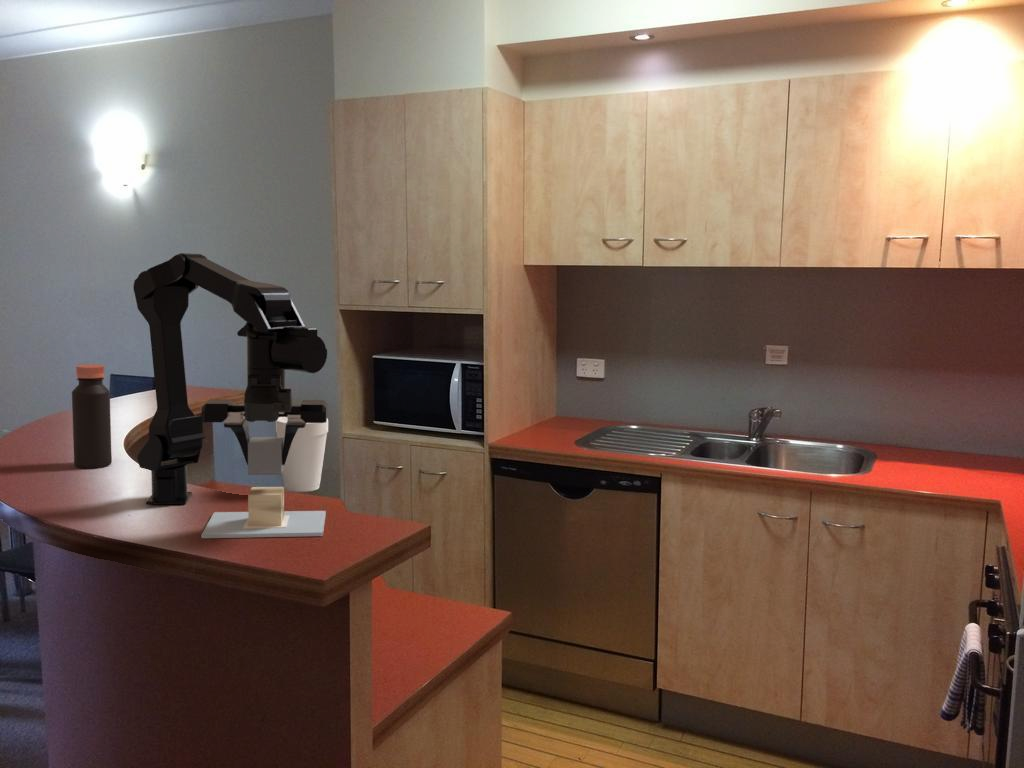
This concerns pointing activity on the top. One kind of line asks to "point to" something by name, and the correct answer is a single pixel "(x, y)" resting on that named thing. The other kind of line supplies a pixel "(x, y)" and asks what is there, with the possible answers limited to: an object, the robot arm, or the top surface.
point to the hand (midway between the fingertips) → (266, 464)
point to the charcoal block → (265, 455)
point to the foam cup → (304, 456)
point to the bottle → (91, 419)
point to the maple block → (266, 506)
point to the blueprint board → (291, 526)
